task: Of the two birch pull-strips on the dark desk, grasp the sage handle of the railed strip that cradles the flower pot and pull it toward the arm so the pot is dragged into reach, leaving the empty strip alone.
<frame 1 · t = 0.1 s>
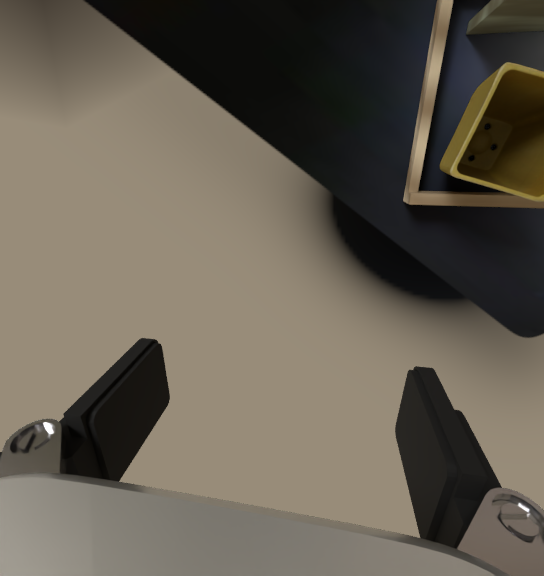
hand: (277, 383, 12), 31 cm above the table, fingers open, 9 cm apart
flower pot: (477, 141, 34), resting in pot strip
pot strip: (508, 96, 28), point 4 cm above the table, slide at 0.0 cm
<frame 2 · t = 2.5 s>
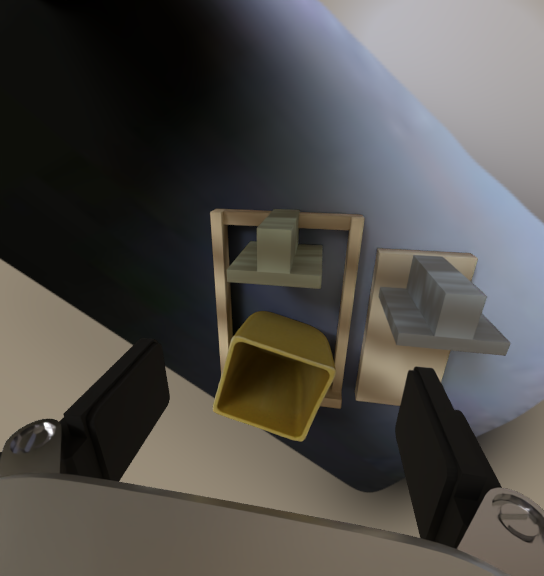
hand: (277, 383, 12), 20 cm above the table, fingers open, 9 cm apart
flower pot: (283, 334, 34), resting in pot strip
empty strip: (417, 359, 27), point 5 cm above the table, slide at 0.0 cm
pot strip: (278, 326, 29), point 4 cm above the table, slide at 0.0 cm
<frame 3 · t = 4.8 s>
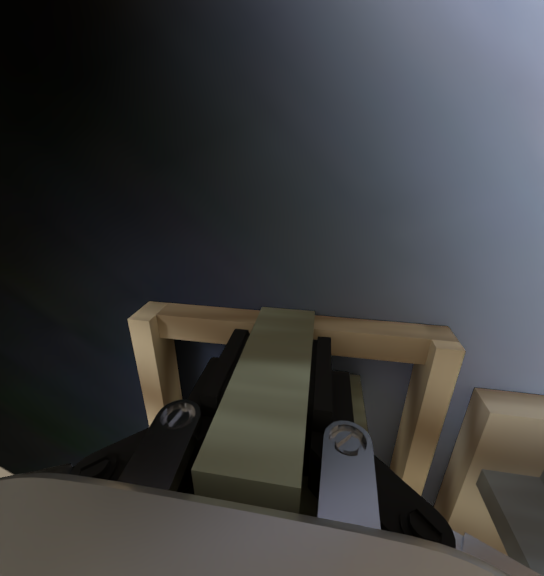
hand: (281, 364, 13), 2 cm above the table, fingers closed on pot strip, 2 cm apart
pot strip: (272, 543, 14), point 4 cm above the table, slide at 0.0 cm, touching gripper
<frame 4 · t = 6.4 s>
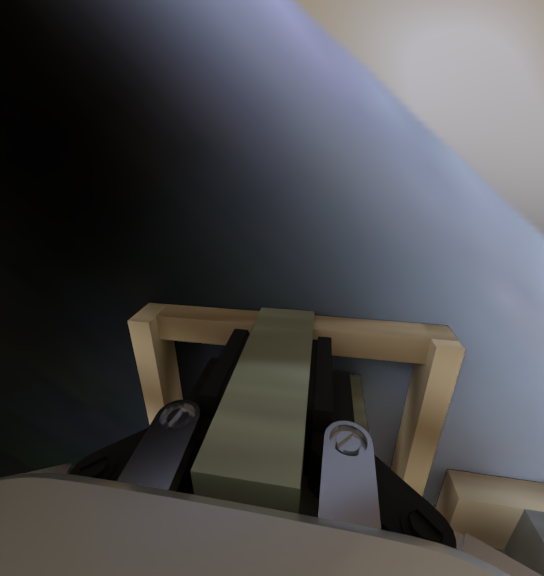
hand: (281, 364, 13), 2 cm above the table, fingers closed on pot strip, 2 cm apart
pot strip: (273, 543, 14), point 4 cm above the table, slide at 5.4 cm, touching flower pot, gripper
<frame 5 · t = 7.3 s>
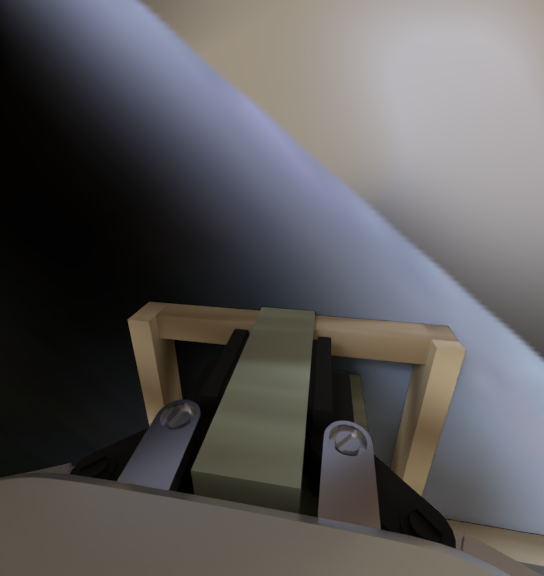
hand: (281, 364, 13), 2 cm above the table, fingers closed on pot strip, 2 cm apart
pot strip: (272, 543, 14), point 4 cm above the table, slide at 9.3 cm, touching flower pot, gripper
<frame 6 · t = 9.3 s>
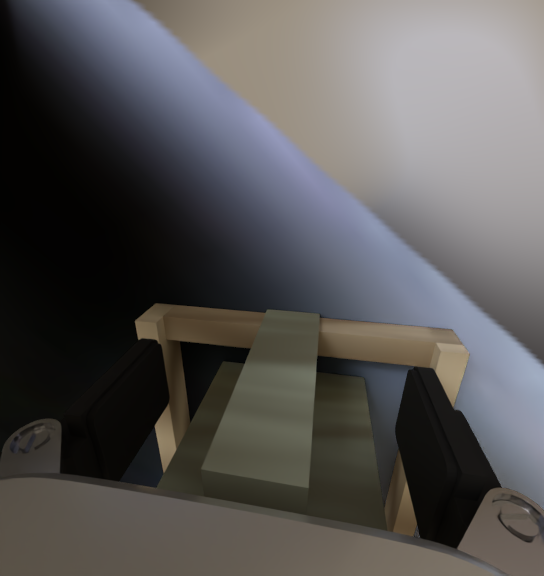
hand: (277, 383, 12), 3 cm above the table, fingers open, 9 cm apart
pot strip: (276, 544, 14), point 4 cm above the table, slide at 9.5 cm
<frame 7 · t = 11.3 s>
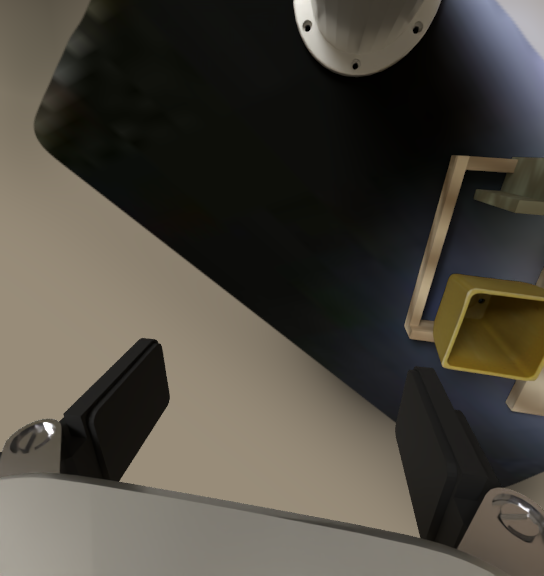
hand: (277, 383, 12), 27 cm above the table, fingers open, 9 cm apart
flower pot: (464, 295, 37), resting in pot strip
pot strip: (507, 268, 31), point 4 cm above the table, slide at 9.5 cm
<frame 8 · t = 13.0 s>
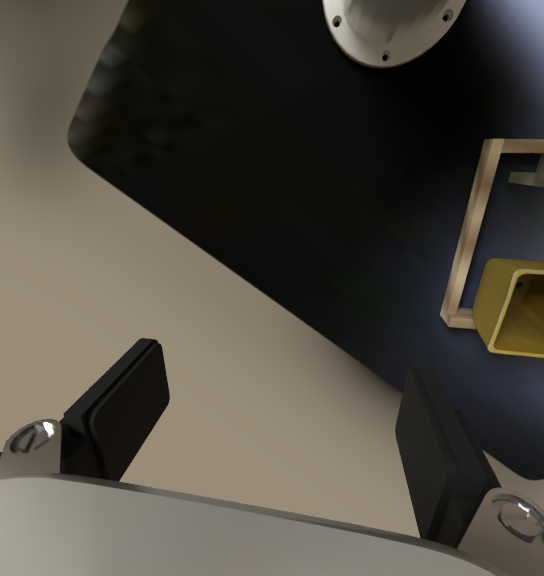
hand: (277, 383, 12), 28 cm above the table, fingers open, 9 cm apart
flower pot: (501, 280, 36), resting in pot strip
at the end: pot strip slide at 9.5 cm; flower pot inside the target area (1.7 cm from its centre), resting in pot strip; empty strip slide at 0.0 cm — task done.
